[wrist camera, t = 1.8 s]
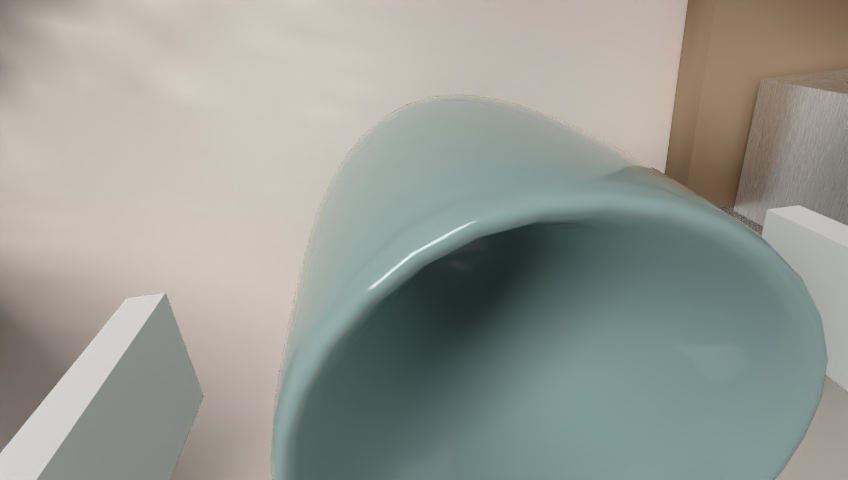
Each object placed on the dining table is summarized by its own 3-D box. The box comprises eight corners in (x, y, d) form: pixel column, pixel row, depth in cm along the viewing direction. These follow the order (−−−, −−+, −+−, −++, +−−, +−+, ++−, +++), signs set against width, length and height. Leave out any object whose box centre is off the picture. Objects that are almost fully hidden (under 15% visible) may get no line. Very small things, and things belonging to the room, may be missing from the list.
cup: (604, 136, 15) (951, 314, 6) (491, 328, 18) (625, 643, 9) (375, 25, 13) (417, 62, 4) (284, 263, 16) (194, 592, 7)
